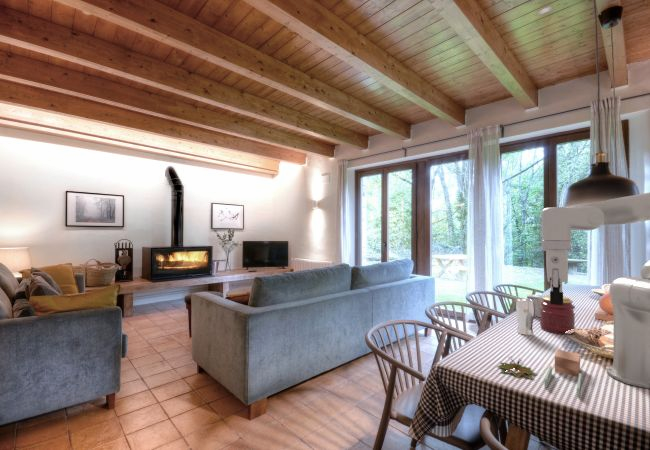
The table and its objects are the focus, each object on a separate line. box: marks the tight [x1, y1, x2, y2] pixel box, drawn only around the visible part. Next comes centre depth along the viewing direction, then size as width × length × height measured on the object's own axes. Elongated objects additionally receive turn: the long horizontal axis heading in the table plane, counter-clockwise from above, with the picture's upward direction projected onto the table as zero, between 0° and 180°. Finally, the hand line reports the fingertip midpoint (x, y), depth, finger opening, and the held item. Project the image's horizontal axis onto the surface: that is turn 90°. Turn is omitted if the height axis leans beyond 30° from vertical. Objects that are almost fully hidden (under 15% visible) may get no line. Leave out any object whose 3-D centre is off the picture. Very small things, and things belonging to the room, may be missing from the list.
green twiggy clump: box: [496, 356, 538, 380], centre depth 99 cm, size 12×12×5 cm
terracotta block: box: [554, 348, 581, 378], centre depth 101 cm, size 6×8×5 cm
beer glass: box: [515, 297, 535, 337], centre depth 136 cm, size 7×7×15 cm
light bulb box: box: [526, 293, 546, 318], centre depth 165 cm, size 11×7×11 cm, turn 58°
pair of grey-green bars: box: [544, 365, 582, 398], centre depth 91 cm, size 8×12×2 cm, turn 138°
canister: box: [539, 294, 576, 335], centre depth 141 cm, size 13×13×18 cm
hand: (556, 304), depth 96 cm, fingers closed
